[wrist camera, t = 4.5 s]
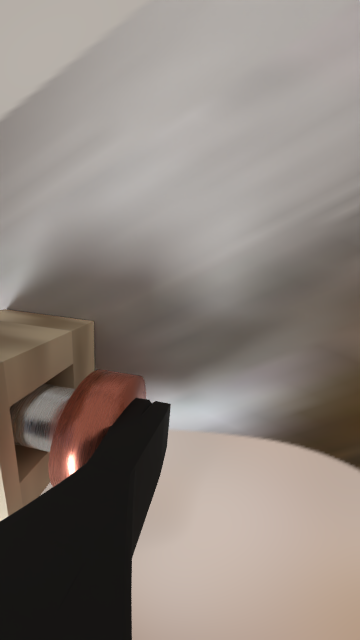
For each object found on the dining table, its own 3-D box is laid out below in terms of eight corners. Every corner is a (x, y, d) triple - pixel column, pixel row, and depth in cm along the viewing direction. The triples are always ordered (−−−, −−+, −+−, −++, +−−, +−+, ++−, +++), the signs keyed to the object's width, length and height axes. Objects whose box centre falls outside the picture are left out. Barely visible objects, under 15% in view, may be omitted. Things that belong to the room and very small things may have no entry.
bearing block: (17, 407, 13) (-111, 498, 8) (5, 309, 11) (-166, 343, 6) (95, 422, 12) (11, 533, 7) (93, 321, 10) (-16, 369, 5)
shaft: (-8, 404, 11) (-123, 475, 7) (-19, 333, 10) (-160, 373, 6) (143, 434, 10) (101, 536, 6) (147, 359, 9) (100, 424, 5)
